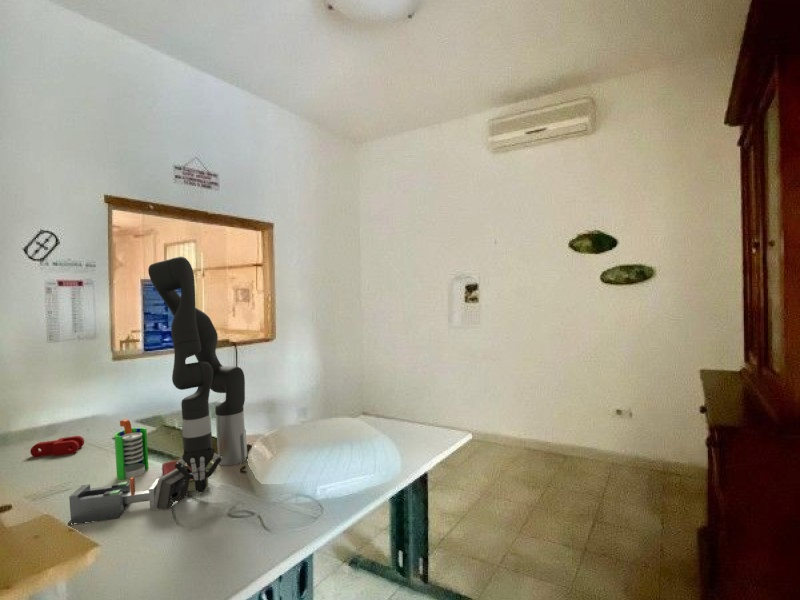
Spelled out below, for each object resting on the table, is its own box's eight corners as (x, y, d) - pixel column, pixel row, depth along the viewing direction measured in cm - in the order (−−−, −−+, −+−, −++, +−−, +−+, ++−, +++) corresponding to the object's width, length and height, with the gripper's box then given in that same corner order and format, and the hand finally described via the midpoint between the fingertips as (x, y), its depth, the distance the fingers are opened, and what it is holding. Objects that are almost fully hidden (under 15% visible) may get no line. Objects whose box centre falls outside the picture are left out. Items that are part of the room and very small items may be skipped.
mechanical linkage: (84, 447, 175) (83, 435, 175) (77, 453, 168) (76, 440, 168) (36, 453, 170) (35, 441, 170) (27, 460, 163) (26, 447, 163)
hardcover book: (165, 500, 127) (164, 485, 127) (162, 474, 145) (161, 462, 145) (210, 488, 133) (209, 474, 133) (201, 465, 151) (201, 453, 151)
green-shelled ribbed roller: (131, 480, 141) (127, 425, 140) (110, 479, 142) (106, 424, 142) (152, 468, 150) (148, 416, 149) (132, 467, 151) (128, 416, 151)
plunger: (162, 496, 126) (161, 469, 126) (154, 508, 120) (153, 480, 119) (112, 504, 124) (110, 476, 123) (101, 516, 117) (98, 487, 117)
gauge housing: (133, 500, 126) (131, 476, 126) (119, 518, 116) (117, 492, 116) (86, 507, 124) (84, 482, 123) (67, 525, 114) (65, 499, 114)
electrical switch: (178, 494, 129) (178, 464, 128) (192, 497, 127) (192, 466, 127) (152, 511, 120) (152, 478, 119) (168, 514, 118) (168, 481, 118)
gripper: (223, 425, 130) (227, 482, 131) (175, 430, 127) (179, 489, 128) (219, 433, 123) (223, 493, 123) (168, 439, 120) (172, 501, 120)
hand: (201, 491), depth 125 cm, fingers closed
